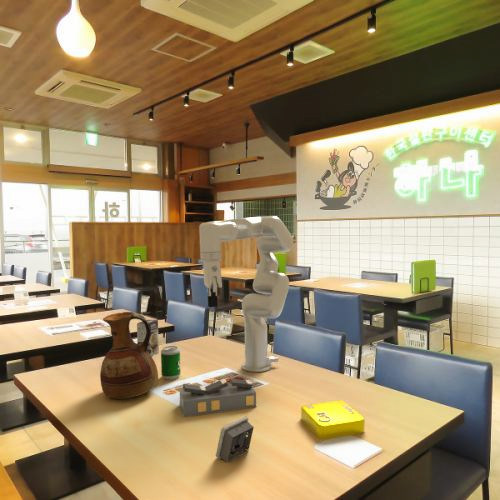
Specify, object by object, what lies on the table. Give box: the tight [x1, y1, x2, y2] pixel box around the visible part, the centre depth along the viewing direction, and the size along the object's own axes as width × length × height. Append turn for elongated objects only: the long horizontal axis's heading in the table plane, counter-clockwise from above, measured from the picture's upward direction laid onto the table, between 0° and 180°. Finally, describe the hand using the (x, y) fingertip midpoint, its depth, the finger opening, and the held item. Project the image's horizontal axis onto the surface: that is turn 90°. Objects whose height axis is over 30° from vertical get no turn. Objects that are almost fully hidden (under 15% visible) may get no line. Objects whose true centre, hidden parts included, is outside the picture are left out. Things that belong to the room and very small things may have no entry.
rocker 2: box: [204, 378, 229, 394], centre depth 142 cm, size 7×4×1 cm, turn 106°
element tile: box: [300, 400, 365, 440], centre depth 127 cm, size 15×15×5 cm
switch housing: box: [179, 383, 257, 418], centre depth 142 cm, size 24×10×6 cm, turn 107°
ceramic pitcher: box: [99, 311, 159, 400], centre depth 154 cm, size 20×20×30 cm
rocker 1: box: [182, 383, 206, 395], centre depth 140 cm, size 7×4×1 cm, turn 107°
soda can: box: [160, 345, 181, 381], centre depth 170 cm, size 8×8×12 cm
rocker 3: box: [229, 378, 253, 388], centre depth 145 cm, size 7×4×1 cm, turn 107°
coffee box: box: [136, 319, 160, 357], centre depth 202 cm, size 9×6×16 cm
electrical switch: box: [215, 416, 255, 464], centre depth 111 cm, size 9×5×9 cm, turn 136°
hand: (212, 306), depth 155 cm, fingers closed
